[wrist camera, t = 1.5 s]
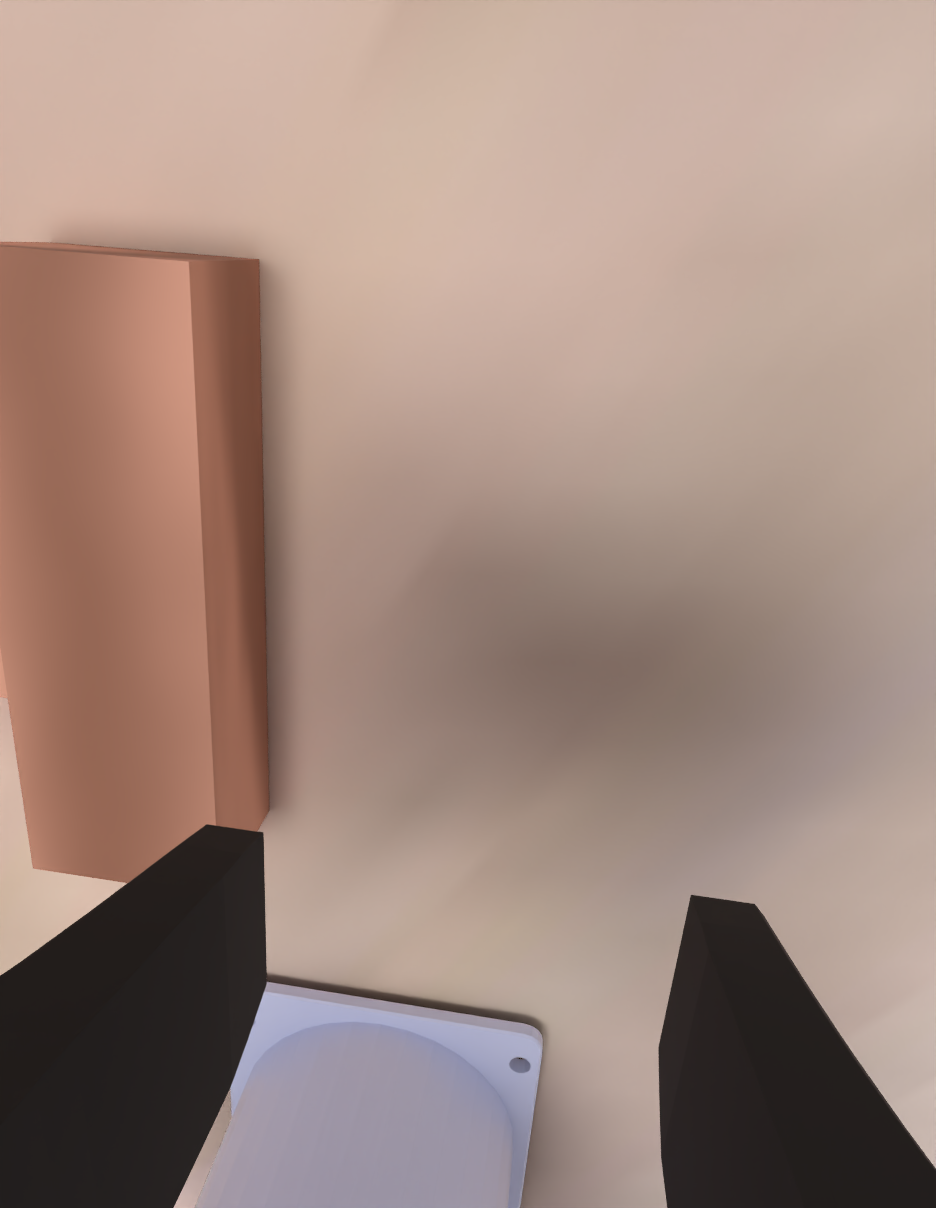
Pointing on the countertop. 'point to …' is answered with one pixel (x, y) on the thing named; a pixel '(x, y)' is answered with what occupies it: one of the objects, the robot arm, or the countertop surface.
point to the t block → (131, 550)
